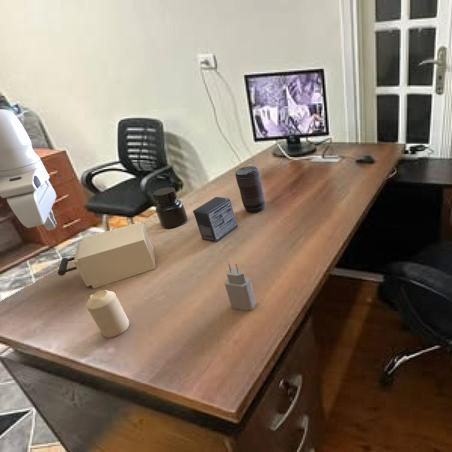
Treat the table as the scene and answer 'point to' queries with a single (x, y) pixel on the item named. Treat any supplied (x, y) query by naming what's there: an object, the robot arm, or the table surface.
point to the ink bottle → (169, 208)
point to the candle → (107, 313)
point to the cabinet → (116, 254)
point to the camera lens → (250, 188)
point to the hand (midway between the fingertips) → (52, 227)
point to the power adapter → (239, 290)
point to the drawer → (64, 269)
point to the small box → (215, 219)
